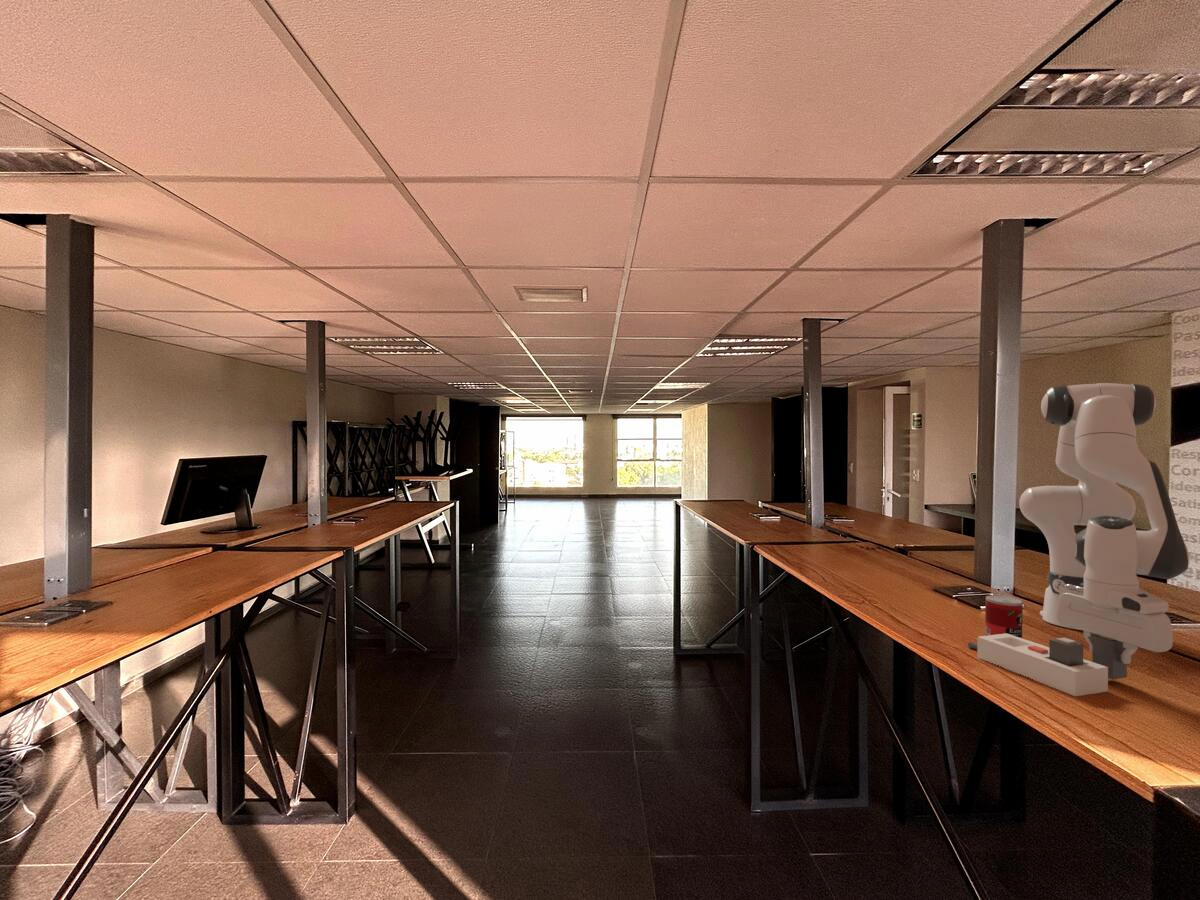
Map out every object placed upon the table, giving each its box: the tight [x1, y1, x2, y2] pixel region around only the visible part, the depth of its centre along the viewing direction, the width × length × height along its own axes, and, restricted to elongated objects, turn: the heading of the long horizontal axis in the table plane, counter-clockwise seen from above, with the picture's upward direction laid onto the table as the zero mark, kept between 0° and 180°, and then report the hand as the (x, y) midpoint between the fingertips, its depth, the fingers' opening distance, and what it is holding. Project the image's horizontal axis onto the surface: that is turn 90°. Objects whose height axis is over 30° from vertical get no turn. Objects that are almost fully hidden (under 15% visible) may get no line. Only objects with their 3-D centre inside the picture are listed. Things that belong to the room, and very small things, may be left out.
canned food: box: [984, 594, 1024, 639], centre depth 148 cm, size 8×8×11 cm
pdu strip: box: [967, 633, 1109, 697], centre depth 131 cm, size 9×28×9 cm, turn 15°
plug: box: [1091, 635, 1128, 680], centre depth 123 cm, size 4×4×8 cm
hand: (1109, 657), depth 123 cm, fingers closed on plug, 4 cm apart
